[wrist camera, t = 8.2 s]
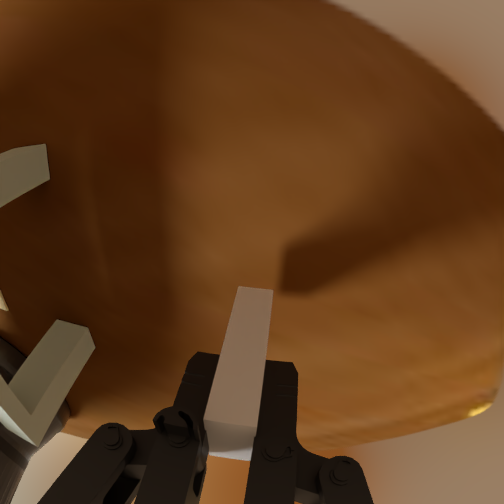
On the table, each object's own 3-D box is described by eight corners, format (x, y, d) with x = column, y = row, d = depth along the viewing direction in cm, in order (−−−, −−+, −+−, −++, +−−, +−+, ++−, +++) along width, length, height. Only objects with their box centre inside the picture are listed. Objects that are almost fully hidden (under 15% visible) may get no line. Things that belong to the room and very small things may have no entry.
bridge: (45, 143, 13) (-98, 216, 5) (95, 347, 20) (38, 447, 12) (12, 148, 13) (-113, 215, 5) (65, 338, 20) (6, 428, 12)
